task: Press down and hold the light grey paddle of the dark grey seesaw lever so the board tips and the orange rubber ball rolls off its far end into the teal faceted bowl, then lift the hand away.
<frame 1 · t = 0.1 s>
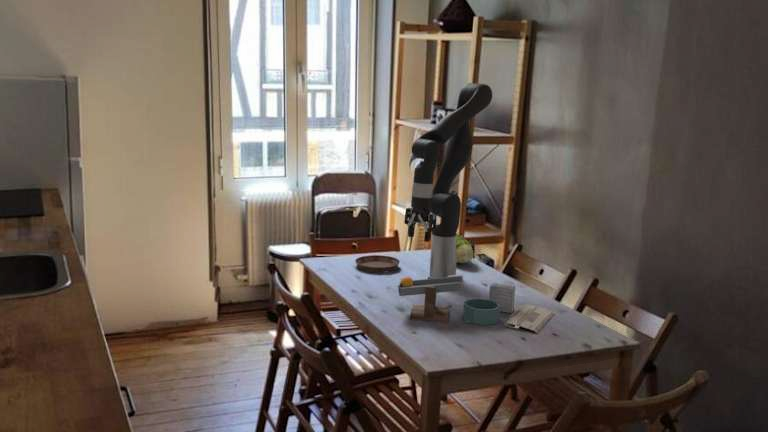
hand: (418, 239, 258), 17 cm above the table, tool pointing down, fingers open, 8 cm apart
newspaper: (526, 322, 229), on the table
ball: (407, 282, 229), point 10 cm above the table, touching lever
lever: (431, 283, 232), point 9 cm above the table, hinge at 10.0°, touching ball
medicine box: (500, 310, 237), on the table
teal faceted bowl: (480, 318, 228), on the table
lever stand: (429, 314, 230), on the table
lettuce: (456, 263, 294), on the table
plant saucer: (377, 268, 282), on the table
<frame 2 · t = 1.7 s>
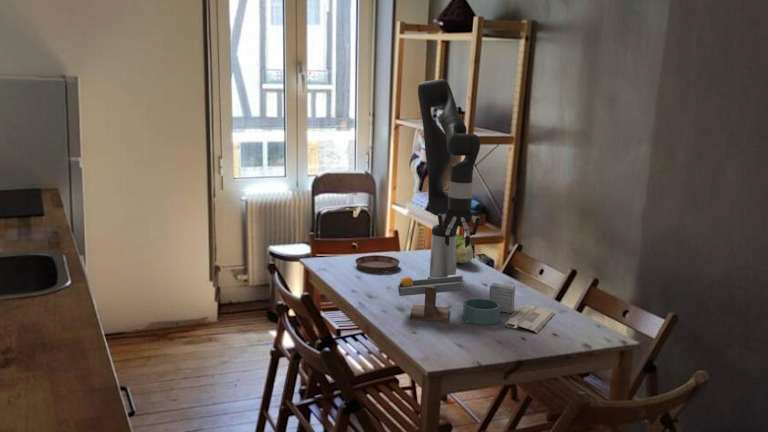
hand: (457, 246, 233), 21 cm above the table, tool pointing down, fingers open, 5 cm apart
nothing on the table moved.
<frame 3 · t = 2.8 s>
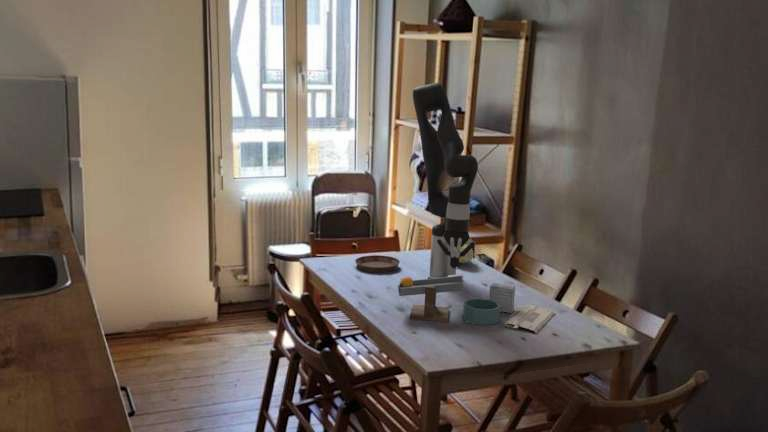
hand: (454, 267, 234), 14 cm above the table, tool pointing down, fingers closed
nothing on the table moved.
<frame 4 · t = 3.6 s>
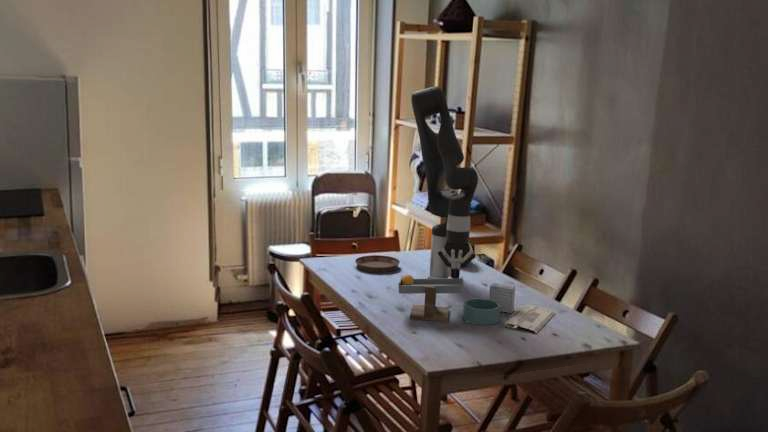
hand: (455, 279, 235), 10 cm above the table, tool pointing down, fingers closed
lever: (431, 283, 232), point 9 cm above the table, hinge at 4.9°, touching ball, gripper
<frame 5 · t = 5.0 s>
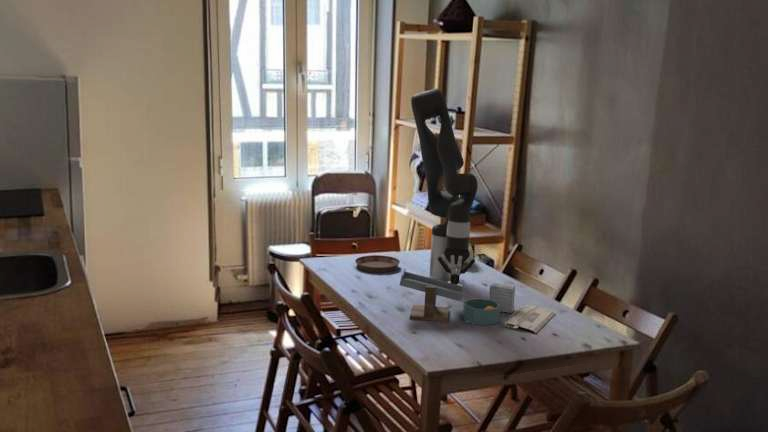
hand: (454, 284, 235), 8 cm above the table, tool pointing down, fingers closed
ball: (489, 312, 227), point 2 cm above the table, tilted 71°, touching teal faceted bowl
lever: (432, 283, 231), point 9 cm above the table, hinge at -10.8°, touching gripper
everything else where it was.
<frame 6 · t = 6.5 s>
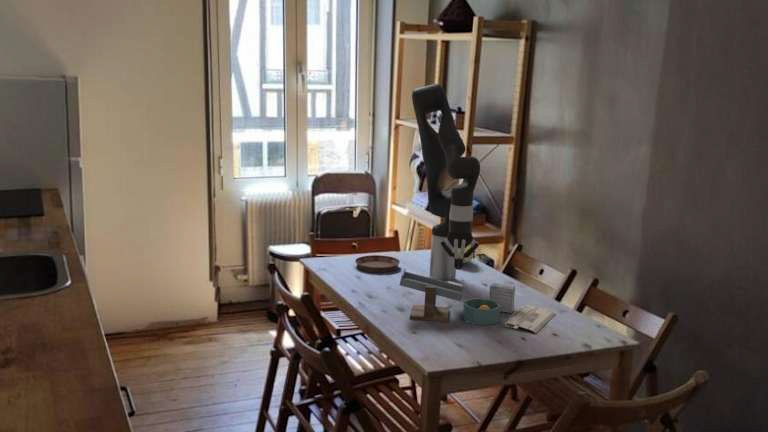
hand: (458, 269, 234), 14 cm above the table, tool pointing down, fingers closed
ball: (484, 311, 228), point 2 cm above the table, tilted 36°, touching teal faceted bowl
lever: (432, 283, 231), point 9 cm above the table, hinge at -10.8°
everything else where it was.
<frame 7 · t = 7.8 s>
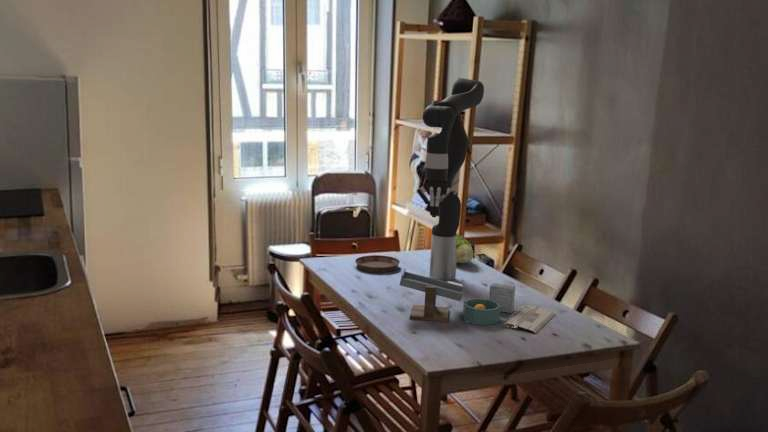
hand: (434, 216, 241), 29 cm above the table, tool pointing down, fingers closed
ball: (480, 310, 229), point 2 cm above the table, tilted 43°, touching teal faceted bowl
everything else where it was.
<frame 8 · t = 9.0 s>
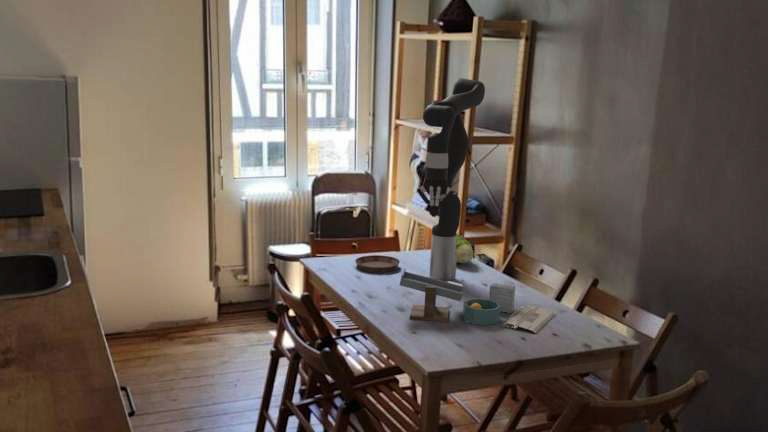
hand: (433, 216, 241), 29 cm above the table, tool pointing down, fingers closed
ball: (475, 309, 230), point 2 cm above the table, tilted 74°, touching teal faceted bowl
everything else where it was.
at the end: ball 2.6 cm from the teal faceted bowl (horizontally); ball point 2.5 cm above the table; lever at -11° (first picture: +10°) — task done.
